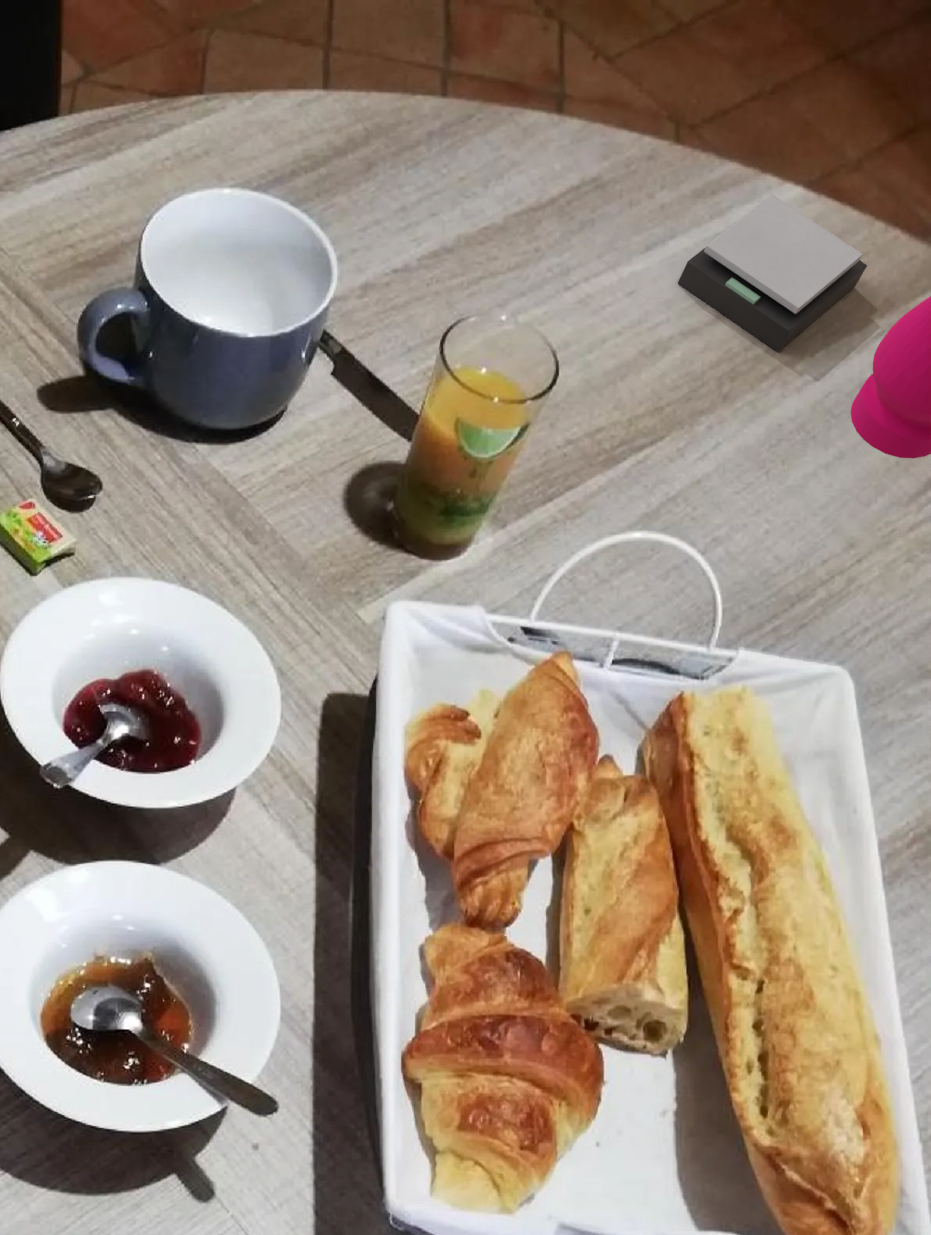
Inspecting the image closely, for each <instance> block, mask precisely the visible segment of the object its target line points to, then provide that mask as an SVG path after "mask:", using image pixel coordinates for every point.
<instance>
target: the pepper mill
mask: <svg viewBox="0 0 931 1235" xmlns="http://www.w3.org/2000/svg"><path fill="white" fill-rule="evenodd" d="M850 418H851V423H852V425H853V428H854V430H855V431H856V433H857V435H859V437H861V439H862V440H863V441H864V442H865V443H866V444H868V445H869V446H871V447H872V448H874V449H876V450H878V451H879V452H881V453H883V454H885V455H888V456H892V457H896V458H899V459H918V458H925V457H928V456H930V455H931V295H930V296H929V297H927V298H925V299H924V300H922V301H920V302H919V303H918V304H917V305H916V306H914V307H913V308H911V309H910V310H909V311H907V312H906V313H905V314H903V315H902V316H901V317H900V318H899V319H898V320H897V321H896V322H895V323H894V324H893V325H892V326H891V327H890V329H889V330H888V331H887V333H886V334H885V335H884V337H883V338H882V339H881V341H880V342H879V343H878V345H877V347H876V350H875V352H874V355H873V359H872V373H871V374H870V375H869V376H868V378H866V380H865V381H864V383H863V385H862V386H861V388H860V389H859V391H858V393H857V394H856V396H855V398H854V399H853V400H852V403H851V407H850Z"/></svg>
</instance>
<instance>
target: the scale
mask: <svg viewBox="0 0 931 1235" xmlns="http://www.w3.org/2000/svg"><path fill="white" fill-rule="evenodd" d="M863 255H864V254H863V253H862V252H860V251H859V250H857V249H856V248H854V247H853V246H851V245H850V244H848V243H847V242H845V241H843V239H841V238H839V237H837V236H836V235H834V234H833V233H832V232H830V231H829V230H827V229H826V228H824V227H823V226H821V225H819V223H817V222H815V221H814V220H812V219H810V218H809V217H808V216H806V215H805V214H803V213H801V212H800V211H798V210H797V209H795V208H794V207H792V206H791V205H789V204H788V203H786V201H785V202H784V200H782V199H780V198H779V197H777V196H776V195H775V194H773V193H770V194H769V195H768V196H767V197H765V198H764V199H763V200H762V201H761V202H759V203H758V204H757V205H756V206H754V207H753V208H751V210H749V211H748V212H746V214H743V216H742V217H740V218H739V219H738V220H737V221H735V222H734V223H732V225H730V226H729V227H728V228H726V229H725V230H724V231H723V232H721V233H720V234H719V235H718V236H716V237H715V238H714V239H713V240H711V242H709V243H708V244H706V246H705V247H704V248H702V249H701V250H700V251H699V252H698V253H696V254H695V255H693V257H691V258H690V259H689V260H687V261H686V264H685V266H684V268H683V270H682V272H681V274H680V277H679V279H678V281H677V284H678V285H679V286H681V287H682V288H684V289H685V290H687V291H688V292H689V293H691V294H693V295H694V296H695V297H697V298H698V299H699V300H701V301H703V302H704V303H706V305H708V306H710V307H712V309H715V310H716V312H718V313H720V314H721V315H723V316H724V317H726V318H727V319H729V320H730V321H732V322H733V323H735V325H737V326H738V327H741V329H743V330H745V331H746V332H748V333H749V334H751V335H752V336H753V337H755V338H756V339H758V340H759V341H761V342H762V343H764V344H765V345H767V346H768V347H769V348H771V349H772V350H774V351H775V352H777V353H780V351H781V350H782V349H784V348H785V347H786V346H787V345H788V344H790V343H791V342H792V341H793V340H794V339H796V337H798V336H799V335H800V334H801V333H803V332H804V331H805V330H806V329H807V328H808V327H809V326H811V325H812V324H813V323H815V321H817V320H818V319H819V318H820V317H821V316H823V314H825V313H826V312H827V311H829V310H830V308H832V307H833V306H834V305H835V304H837V303H838V302H839V301H840V300H842V299H843V298H844V297H845V296H846V295H847V294H848V293H850V292H851V291H852V290H853V289H854V288H855V287H856V286H857V283H858V282H859V281H860V279H861V277H862V275H863V274H864V272H865V270H866V269H867V267H868V264H866V263H865V262H863V261H861V259H862V257H863Z"/></svg>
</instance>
